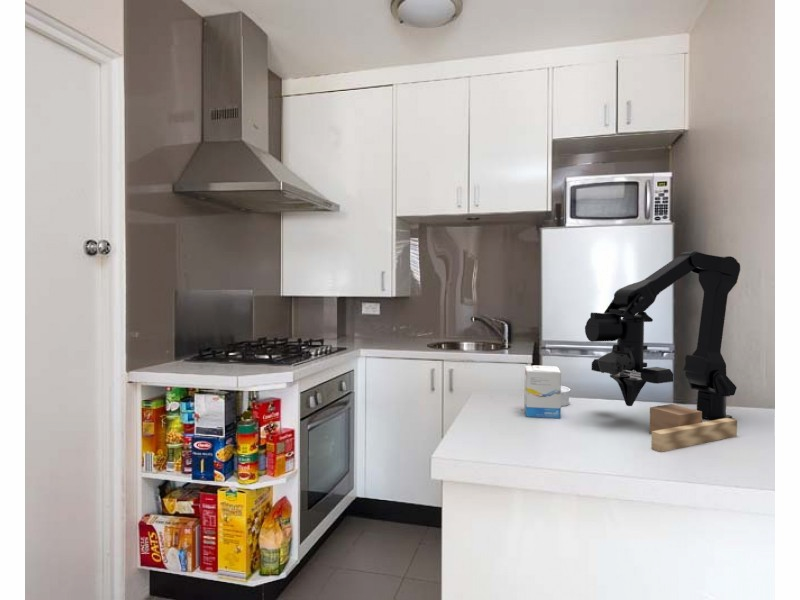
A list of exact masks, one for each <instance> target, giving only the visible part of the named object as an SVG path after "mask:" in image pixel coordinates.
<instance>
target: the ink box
mask: <svg viewBox="0 0 800 600" xmlns="http://www.w3.org/2000/svg"><path fill="white" fill-rule="evenodd" d="M561 386H562V372H561V370H560V369H559V367H558V366H556V365H555V366H553V365H535V364H534V365H524V390H523V392H524V398H523V399H524V401H523V402H524V403H523V404H524V405H523V409H524V413H525V416H526V418H528V417H529V418H544V419H545V418H547V419H561V418H562V417H561V412H562V411H561V410H562V406H561Z"/></svg>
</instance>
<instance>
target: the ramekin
mask: <svg viewBox="0 0 800 600" xmlns="http://www.w3.org/2000/svg"><path fill="white" fill-rule="evenodd" d="M570 393H571V388H569V387H567V386H564V385H561V407H566V406H568V405H569V402H570Z"/></svg>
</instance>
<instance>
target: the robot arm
mask: <svg viewBox="0 0 800 600" xmlns="http://www.w3.org/2000/svg"><path fill="white" fill-rule="evenodd" d="M740 272H741V264H740V262H739V261H738V259H736V258H735V257H734V256H718V255H712V254H705V253H702V252H700V251H684V252H683V251H682V252H681V253H680V254H678V255H677V256H676V257H675V258H673V259H672V260H671V261H670V262H668V263H666V264H665V265H663V266H662V267H660V268H659V269H657V270H656V271H654V272H653V273H651V274H650V275H648V276H647V277H646V278H644V279H642V280H640V281H637V282H633V283H629V284H627V285H626V286H623V287H621V288H619V289H617V290H616V291H615V292H614V293H613V299H612V300H611V301H610V303H609V305H607V308H606V309H605V310H604V312H602V313H601V312H590V314H589V315H590V317H589V318H588V319H587V320H586V323H585V326H584V333H585V336H586V338H587V340H588V341H589V342H593V343H595V342H598V343H599V342H616V341H617V343H615V344H612V345H613V346H612V350H611V352H608V353H606V354H604V355H603V356H600V357H599V358H595V359H593V361H592V362H591V371H593V372H599V373H601V374H604V373H605V374H609V377H610V379H613V380H614V381H615V382H616V383H617V385H618V387H619V389H620V391H621V394H622V397H623V399H624V400H623V401H624V403H625V406H628V407H632V406H633V405H634V403H635V402H636V399H637V398H638V396H639V394H640V392H641V391H642V389H643V387H644V386H645V384H647V383H651V384H663V383H664V384H665V383H674V373H673V371H672V370H671V368H666V367H659V366H651V367H648V362H645V361H644V356H645V355H644V351H647V350H648V345H645V344H644V341H645V338H644V337H645V323H652V322H653V321H654V320H653V318H652V317H651V316H649V315H648V314H647V312H646V311H647V309H649V308H650V307H651V306H652V305H653V304H654V303H655V301H656V299H657V296H658V295H660V294H661V293H662V292H663V291H664V290H666V289H667V288H669V287H670V286H672V285H673V284H675V283H676V282H678V281H679V280H680V279H682V278H683V277H685V276H686V275H689V273H693V274H696V275H698V282H699V285H700V286H701V288H702V290H703V297H702V306H701V313H700V321H699V328H698V329H699V330H698V335H697V336H698V338H697V344H696V349H695V351H694V352H693V353H692V354H686V355H685V359H684V360H685V361H684V362H685V364H684V367H683V369H682V370H683V372H685V373H684V375H685V378H686V379H687V381H688V383H689V386H690V389H691V390H697V397H696V410H698V411H702V419H707V420H709V421H712V420H718V419H723V418H731V419H733V415H729V414H727V397H731V396H735V394H736V391H737V389H738V388H737V386H736V384H734V382H733V381H732V380H731V379H730V378H729V377H728V376H727V364H726V362H725V359H724V356H723V355H722V352H721V350H722V349H721V348H722V343H723V342H722V341H723V335H724V327H725V320H726V310H727V302H728V296H729V293H730V292H731V291H732V289H733V288H734V287H735V286H736V284H737V283H738V279H739V276H740Z"/></svg>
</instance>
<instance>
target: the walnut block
mask: <svg viewBox="0 0 800 600" xmlns="http://www.w3.org/2000/svg"><path fill="white" fill-rule="evenodd" d="M701 422H703V418H702V411H698V410H697V409H693V408H688V407H685V406H681V405H678V404H677V405H676V404H673V403H669V404H662V405H657V406H650V407H649V434H650V435H652V431H657V430H662V429H668V428H673V427H679V426H684V425H690V424H696V423H701Z"/></svg>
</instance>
